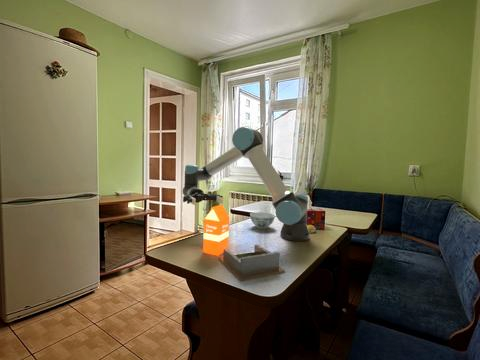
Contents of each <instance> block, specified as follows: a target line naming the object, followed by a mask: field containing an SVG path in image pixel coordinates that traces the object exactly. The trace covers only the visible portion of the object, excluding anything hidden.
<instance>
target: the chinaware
mask: <svg viewBox="0 0 480 360" xmlns="http://www.w3.org/2000/svg"><path fill="white" fill-rule="evenodd" d="M249 215H250V220H251V222H252V224H254V225H255V227H256V228H257V229H261V230H263V229H264V230H265V229H268V227H269V226H271V225H272V224H273V222H274V221H275V218H276V214H273V213H271V212H264V211H261V212H257V211H255V212H251V213H249Z"/></svg>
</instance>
